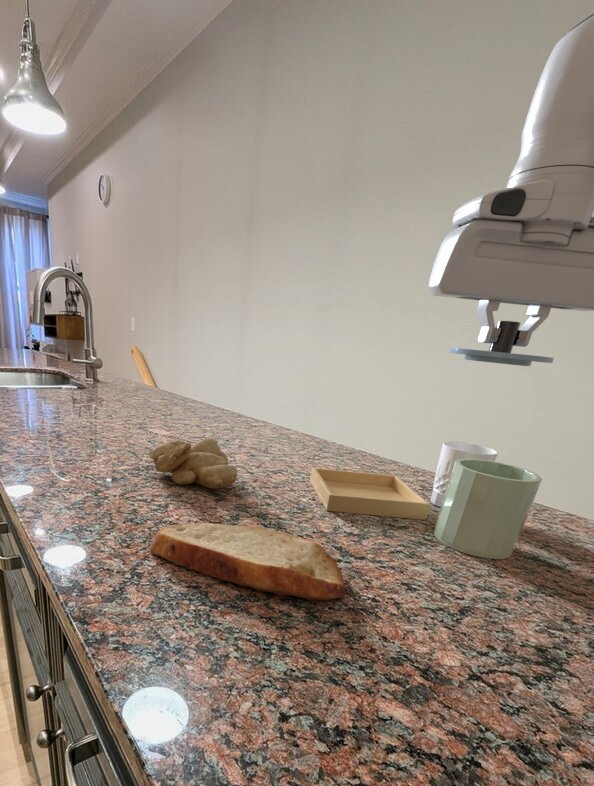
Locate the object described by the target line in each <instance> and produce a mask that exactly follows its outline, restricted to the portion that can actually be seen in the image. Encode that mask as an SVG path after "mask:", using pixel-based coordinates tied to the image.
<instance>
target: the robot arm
mask: <svg viewBox="0 0 594 786" xmlns="http://www.w3.org/2000/svg"><path fill="white" fill-rule="evenodd" d="M548 56H549V57H548V59H547V61H546V62H545V65H544V67H543V70H542V72H541V75H540V78H539V79H538V82H537V85H536V88H535V91H534V94H533V95H532V99H531V103H530V105H529V109H528V111H527V115H526V118H525V121H524V125H523V129H522V133H521V141H520V143H521V145H520V151H519V152H520V153H519V155H518V156H519V157H518V159H517V162H516V164H515V166H514V167H513V169H512V171H511V172H510V174H509V177H508V180H507V184H506V188H502V189H497V190H494V191H490V192H487V193H484V194H481V195H480V196H477V197H475V198H473V199H470V200H469V201H467V202H465V203H463V204H462V205H460V206H459V207H457V209H456V210H455V211H454V214H453V216H452V227H453V228H454V229H452V230H451V231H449V233H447V234H446V236H445V237H444V238H443V240H442V242H441V244H440V246H439V249H438V251H437V254H436V256H435V260H434V262H433V266H432V269H431V273H430V275H429V280H428V289H429V291H430V294H431V296H433V297H441V298H451V299H460V300H472V301H478V305H477V308H476V315H477V318H478V322H479V327H480V331H479V333H478V337H477V342H478V343H481V344H491V343H492V344H495V343H496V342H497V340H498V335H499V334H500V331H501V328H496V325H495V319H494V312H498V310H499V308H500V305H501V304H509V305H519V306H528V307H527V310H526V314H525V316H527V317H529V318H527V320H526V321H524V323H523V324H522V325H521V326H520V327H519V330H518V333H517V336H516V339H515V342H514V345H513V347H519V348H520V347H522V348H525V347H526V348H527V346H528V345H529V344H530V341H531V338H532V335H533V333H534V332H535V331H536V330H537V329H538V328H539V327H540V326H541V325H542V324H543V323H544V322H545V321H546V319H547V318H549V315H550V312H551V310H552V309H557V310H567V311H575V312H577V311H578V312H594V216H593V214H594V13H592V14H590V15H589V16H587V17H586V18H584V19H583V20H582V21H580V22H579V23H577V24H576V25H575V26H574V27H573V28H571V29H569V31H568V32H566V33H565V34H564V35H563V36H562V37H561V39H559V40H558V41H557V42H556V44H555V45H554V47H553V49H552V50H551V53H550V55H548Z"/></svg>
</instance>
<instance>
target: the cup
mask: <svg viewBox="0 0 594 786" xmlns="http://www.w3.org/2000/svg"><path fill="white" fill-rule="evenodd" d="M542 480H543V478H542V477H541V475H539V474H537V473H536V472H533V471H531V470H528V469H525V468H523V467H519V466H516V465H513V464H508V463H503V462H499V461H495V462H494V461H488V460H480V459H459V460H456V461H455V464H454V467H453V470H452V473H451V477H450V480H449V483H448V486H447V490H446V493H445V496H444V499H443V502H442V506H441V507H440V509H439V513H438V515H437V519H436V522H435V526H434V531H433V535H434V538H436V540H438V541H439V542H440V543H441V544H443V545H445V546H446V547H448V548H450V549H453V550H455V551H458V552H460V553H463V554H467V555H470V556H474V557H478V558H483V559H488V560H489V559H490V560H502V559H508V558H510V557H511V556H512V555H513V552H514V551H515V549H516V547H517V544H518V542H519V539H520V536H521V534H522V531H523V529H524V526H525V524H526V521H527V519H528V516H529V514H530V511H531V508H532V506H533V503H534V501H535V498H536V496H537V493H538V491H539V488H540V486H541V483H542Z"/></svg>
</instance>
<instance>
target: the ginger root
mask: <svg viewBox="0 0 594 786" xmlns="http://www.w3.org/2000/svg"><path fill="white" fill-rule="evenodd" d="M148 456H149V458H150V460H152V461H153V462H154V468H155V470H156V472H159V473H165V474H166V473H167V474H171V479H172V481H173V482H174V483H176V484H177V485H182V486H183V485H190V484H193V482H195V483H196V484H198V485H202V486H204V487H206V488H210V489H213V490H215V489H222V488H226V487H230V486H232V485H233V484H234V483H235V482H236V481H237V477H238V469H237V467H236V465H232V464H229V463H228V462H229V461H228V460H229V459H228V457H227V455H226V453H225V452H224V451H221V448H220V446H219V444H218V441H217V440H216V439H214V438H204V439H199V440H198V441H197V442H196V443H195V444H193V445H192V442H191V443H190V442H188V443H186V442H185V441H183V440H181V439H175V440H174V439H173V440H170V441H168V442H165V443H163V444H161V445H158V446H156V447H155V448H154V449H152V450H150V451H149V452H148Z"/></svg>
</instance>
